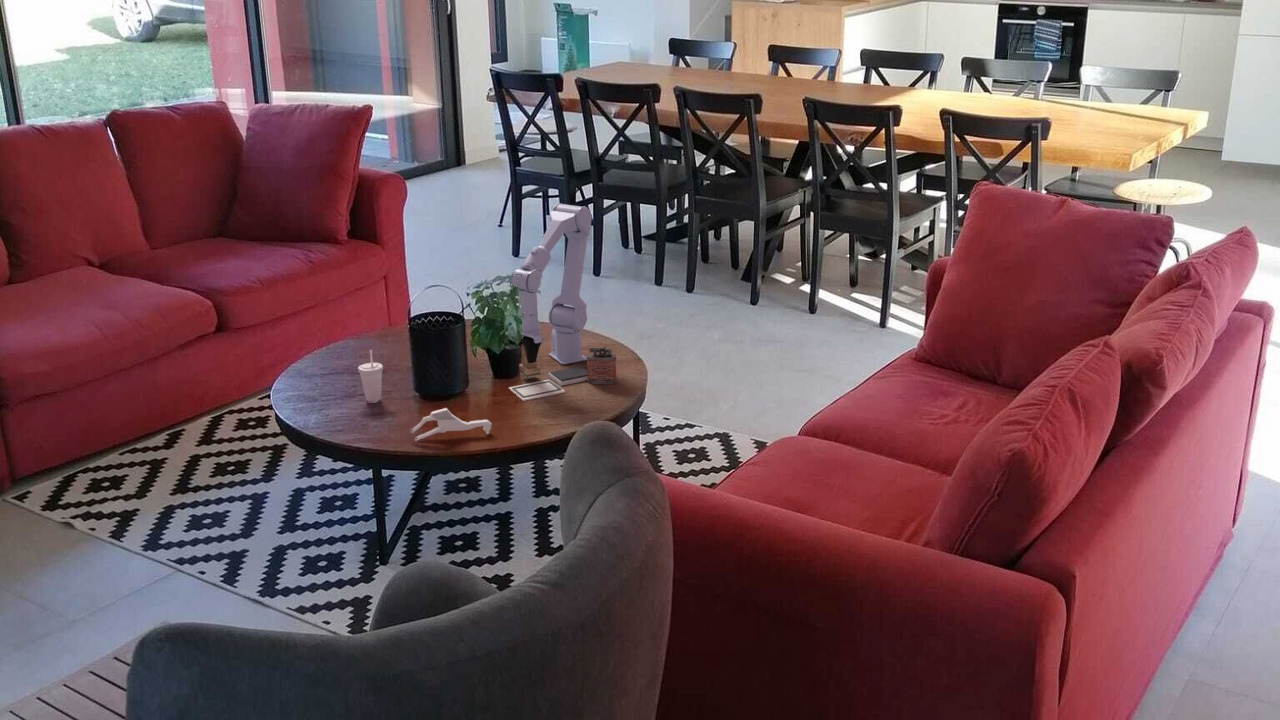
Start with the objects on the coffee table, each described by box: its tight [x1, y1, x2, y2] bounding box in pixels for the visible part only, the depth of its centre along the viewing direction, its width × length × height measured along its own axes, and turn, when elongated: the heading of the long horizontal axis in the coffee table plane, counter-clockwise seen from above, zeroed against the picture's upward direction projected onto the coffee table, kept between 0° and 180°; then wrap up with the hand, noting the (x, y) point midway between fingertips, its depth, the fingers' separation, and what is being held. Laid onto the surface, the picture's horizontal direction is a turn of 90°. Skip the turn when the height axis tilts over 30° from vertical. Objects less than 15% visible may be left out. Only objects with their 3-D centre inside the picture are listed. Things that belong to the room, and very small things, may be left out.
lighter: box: [586, 345, 618, 385], centre depth 332 cm, size 8×3×10 cm, turn 84°
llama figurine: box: [409, 407, 492, 442], centre depth 300 cm, size 2×11×18 cm
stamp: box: [518, 344, 541, 377], centre depth 335 cm, size 5×4×8 cm
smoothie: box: [357, 349, 384, 401], centre depth 321 cm, size 6×6×14 cm
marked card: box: [508, 378, 566, 402], centre depth 328 cm, size 10×12×1 cm
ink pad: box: [547, 365, 588, 387], centre depth 337 cm, size 8×10×2 cm
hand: (529, 360), depth 335 cm, fingers closed on stamp, 3 cm apart
